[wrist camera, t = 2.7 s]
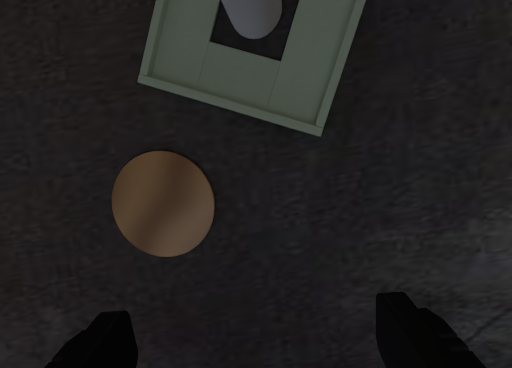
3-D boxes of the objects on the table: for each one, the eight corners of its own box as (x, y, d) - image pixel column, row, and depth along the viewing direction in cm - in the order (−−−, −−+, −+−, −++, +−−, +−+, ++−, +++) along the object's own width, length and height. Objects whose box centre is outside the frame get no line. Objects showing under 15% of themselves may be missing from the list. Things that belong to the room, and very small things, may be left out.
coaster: (104, 236, 31) (101, 237, 30) (126, 137, 29) (124, 137, 29) (199, 269, 30) (198, 271, 29) (228, 169, 28) (227, 169, 28)
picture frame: (143, 84, 28) (137, 82, 27) (189, -116, 25) (184, -129, 24) (319, 137, 27) (320, 136, 25) (388, -70, 24) (393, -81, 23)
